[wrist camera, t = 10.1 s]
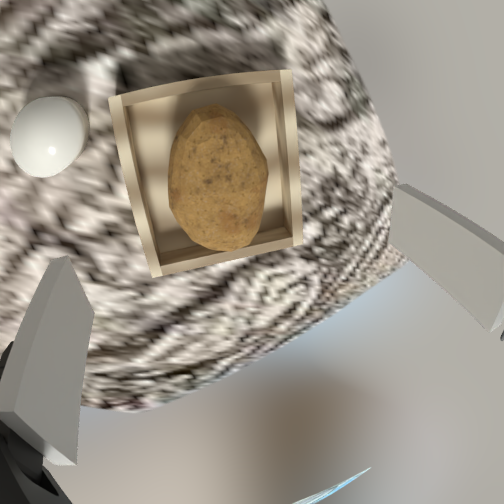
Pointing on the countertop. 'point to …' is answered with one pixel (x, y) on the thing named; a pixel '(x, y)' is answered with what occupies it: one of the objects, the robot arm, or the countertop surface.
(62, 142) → the white rounded piece
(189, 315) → the countertop surface
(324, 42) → the countertop surface
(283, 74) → the tray
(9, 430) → the robot arm
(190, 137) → the potato
